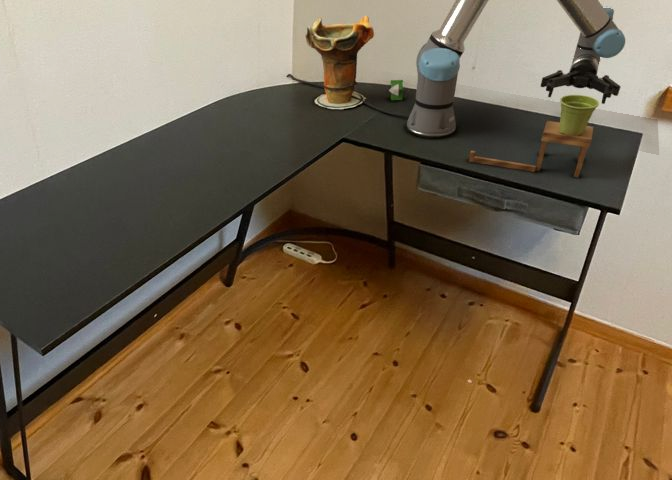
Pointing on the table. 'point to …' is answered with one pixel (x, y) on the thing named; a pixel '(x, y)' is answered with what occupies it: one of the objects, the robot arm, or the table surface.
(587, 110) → the plant pot
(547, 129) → the plant stand
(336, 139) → the table surface
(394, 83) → the geometric puzzle
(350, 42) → the decorative vase
